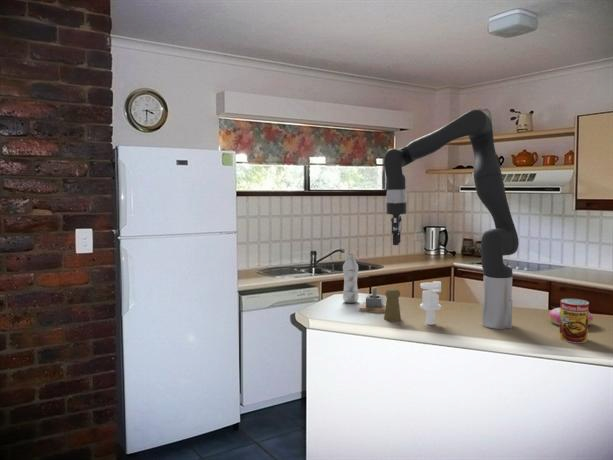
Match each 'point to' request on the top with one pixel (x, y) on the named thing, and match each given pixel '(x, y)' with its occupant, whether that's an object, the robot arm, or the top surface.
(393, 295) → the cork
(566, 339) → the canned food
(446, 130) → the robot arm
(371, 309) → the toggle switch
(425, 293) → the strainer
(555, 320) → the donut
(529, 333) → the top surface
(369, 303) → the grey hollow square block
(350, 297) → the plastic bottle
